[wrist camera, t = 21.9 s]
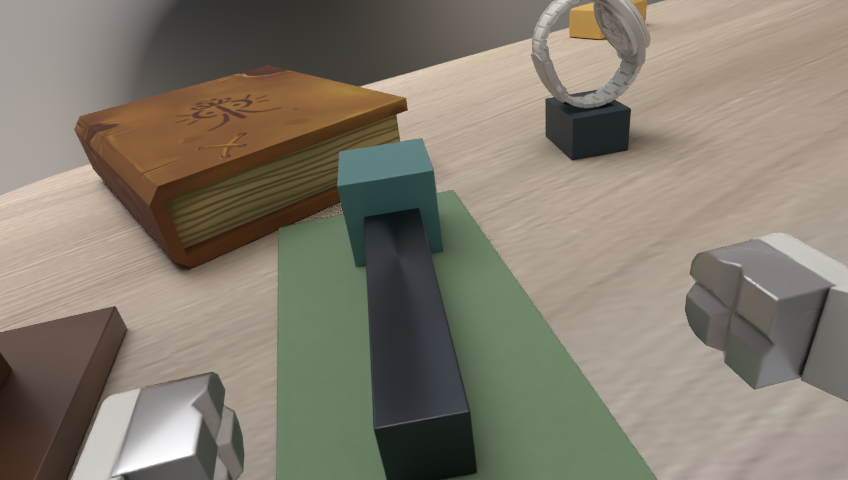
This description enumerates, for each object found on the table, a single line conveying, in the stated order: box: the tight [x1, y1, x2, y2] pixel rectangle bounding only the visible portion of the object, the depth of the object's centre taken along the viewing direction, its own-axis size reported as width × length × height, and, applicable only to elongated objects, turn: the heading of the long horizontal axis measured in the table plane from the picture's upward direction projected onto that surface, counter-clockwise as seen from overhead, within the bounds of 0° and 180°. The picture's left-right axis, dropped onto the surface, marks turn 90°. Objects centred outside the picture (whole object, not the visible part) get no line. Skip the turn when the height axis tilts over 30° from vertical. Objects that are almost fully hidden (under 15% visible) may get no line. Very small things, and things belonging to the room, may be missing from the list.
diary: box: [75, 65, 408, 268], centre depth 43 cm, size 23×19×6 cm
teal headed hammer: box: [337, 138, 477, 480], centre depth 24 cm, size 5×19×5 cm, turn 7°
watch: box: [531, 0, 650, 160], centre depth 39 cm, size 6×8×11 cm
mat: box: [276, 190, 657, 480], centre depth 25 cm, size 24×12×1 cm, turn 13°
